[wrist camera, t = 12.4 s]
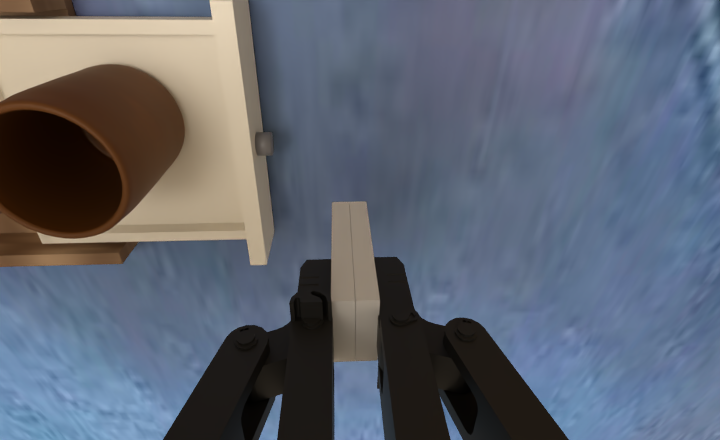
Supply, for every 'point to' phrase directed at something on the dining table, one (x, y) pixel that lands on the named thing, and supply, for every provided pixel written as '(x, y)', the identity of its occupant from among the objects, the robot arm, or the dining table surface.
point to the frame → (23, 246)
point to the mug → (85, 149)
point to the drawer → (196, 102)
